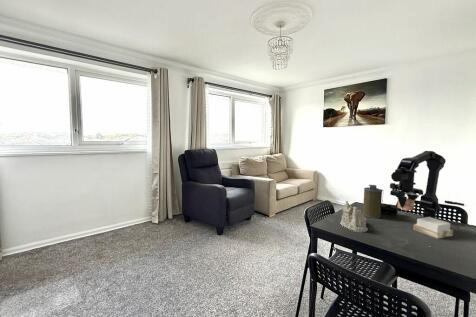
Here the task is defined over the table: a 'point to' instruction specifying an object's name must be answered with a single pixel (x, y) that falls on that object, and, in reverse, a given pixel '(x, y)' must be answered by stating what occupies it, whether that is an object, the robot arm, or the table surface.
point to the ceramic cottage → (353, 219)
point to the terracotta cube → (407, 205)
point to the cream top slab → (433, 224)
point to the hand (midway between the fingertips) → (405, 206)
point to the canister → (372, 201)
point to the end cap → (389, 210)
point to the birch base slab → (433, 232)
